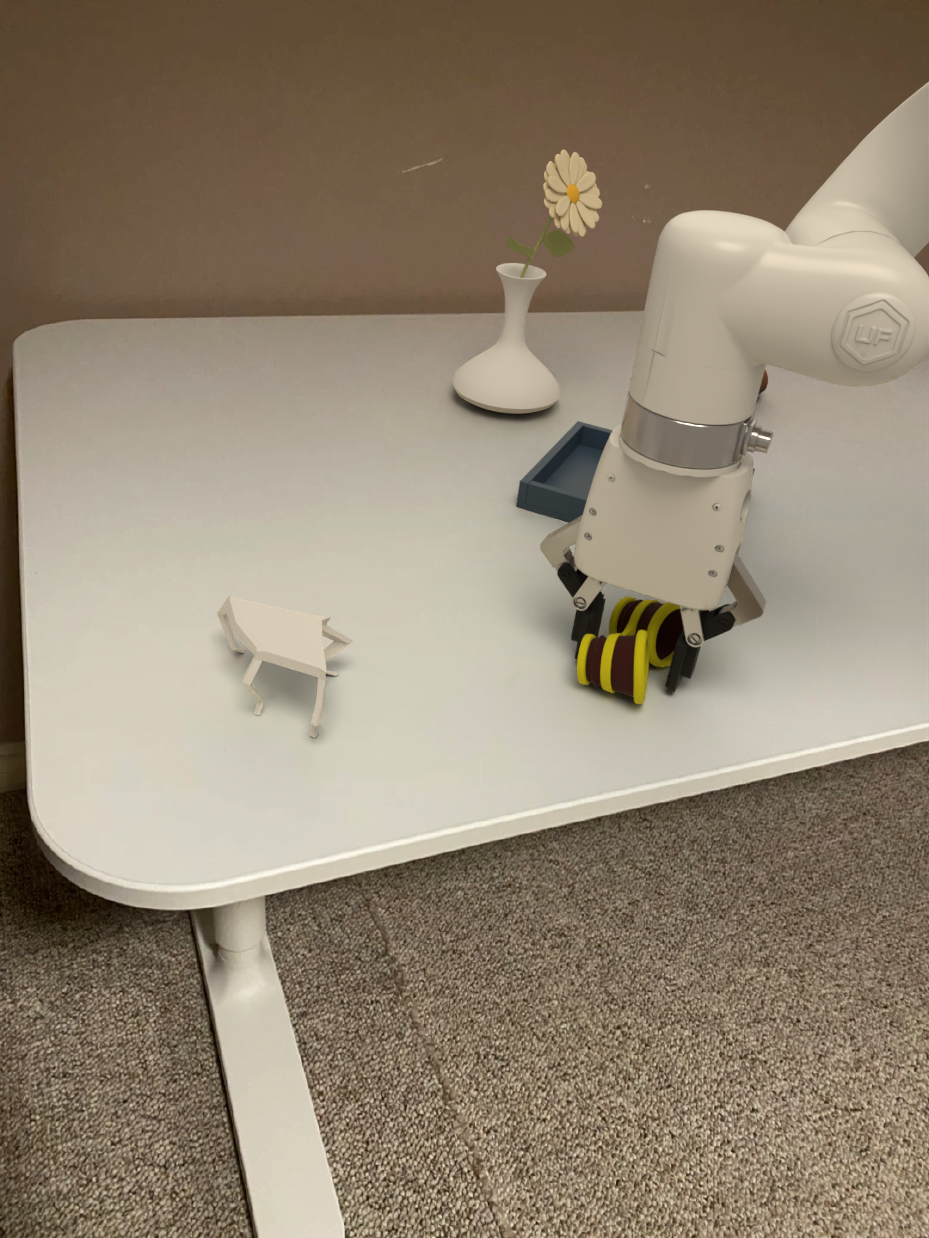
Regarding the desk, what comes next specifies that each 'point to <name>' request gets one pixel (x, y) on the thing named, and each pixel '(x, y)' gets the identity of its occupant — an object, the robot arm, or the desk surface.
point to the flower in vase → (509, 367)
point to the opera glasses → (630, 646)
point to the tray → (565, 474)
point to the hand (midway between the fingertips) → (629, 663)
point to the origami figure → (282, 643)
